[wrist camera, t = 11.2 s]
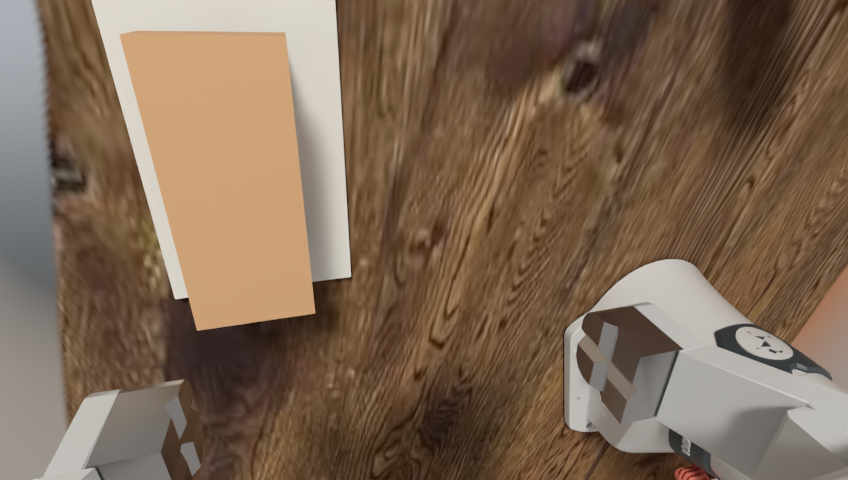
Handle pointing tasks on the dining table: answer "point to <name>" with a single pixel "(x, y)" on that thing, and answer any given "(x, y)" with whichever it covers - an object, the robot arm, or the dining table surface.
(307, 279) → the bench model
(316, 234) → the felt mat
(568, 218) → the dining table surface
